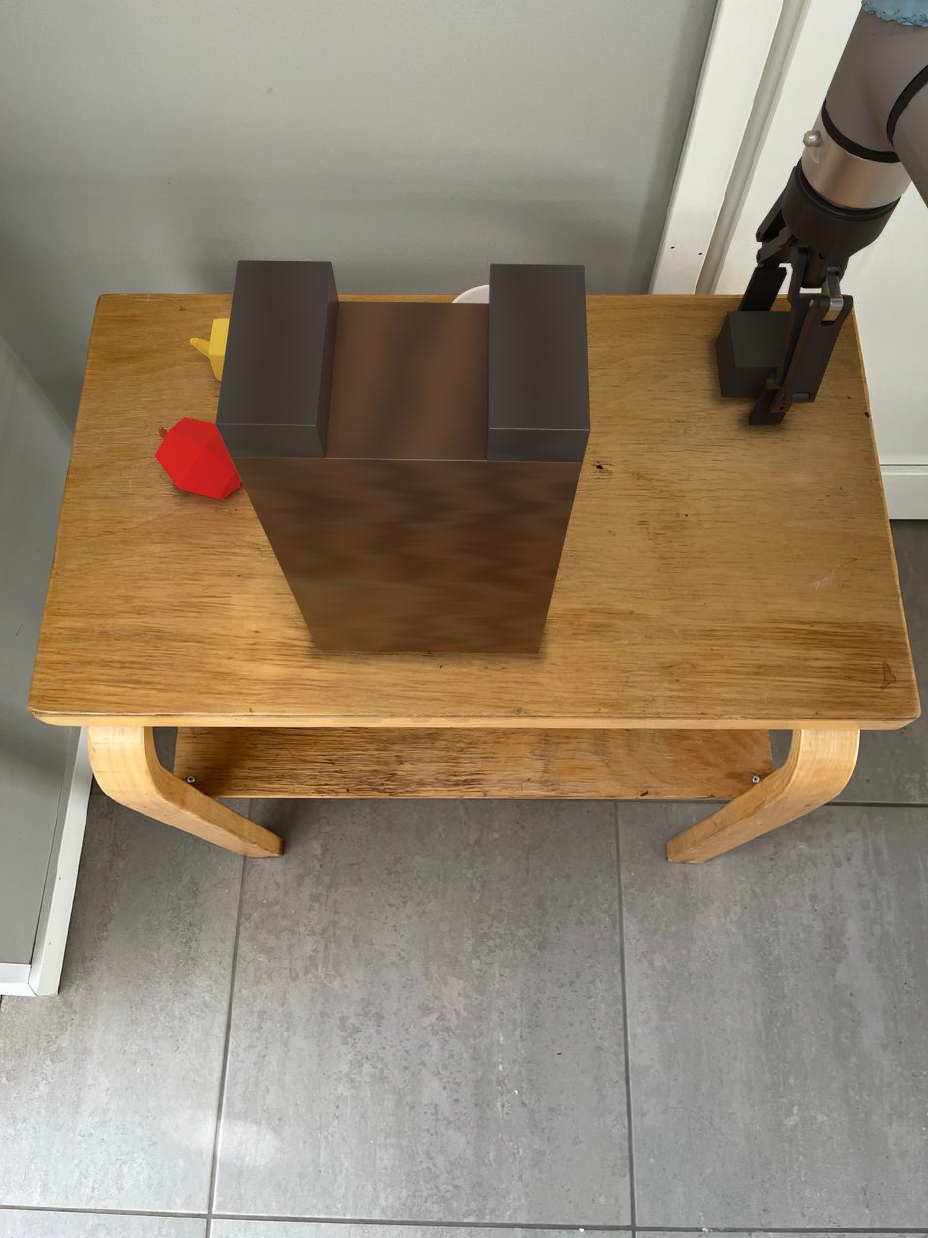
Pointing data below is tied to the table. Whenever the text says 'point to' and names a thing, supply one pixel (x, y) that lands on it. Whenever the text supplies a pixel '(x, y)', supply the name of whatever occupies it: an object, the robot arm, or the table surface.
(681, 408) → the table surface
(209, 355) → the teapot
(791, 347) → the robot arm
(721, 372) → the pad
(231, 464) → the apple
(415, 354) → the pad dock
